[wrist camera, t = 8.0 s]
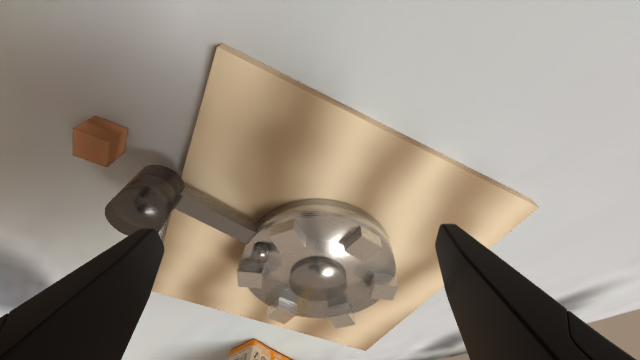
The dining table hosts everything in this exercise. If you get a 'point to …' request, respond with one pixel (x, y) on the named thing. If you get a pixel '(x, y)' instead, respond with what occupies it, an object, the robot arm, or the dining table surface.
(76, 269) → the robot arm
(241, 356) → the supplement box
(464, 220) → the base plate
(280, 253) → the gear crank handle
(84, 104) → the dining table surface
